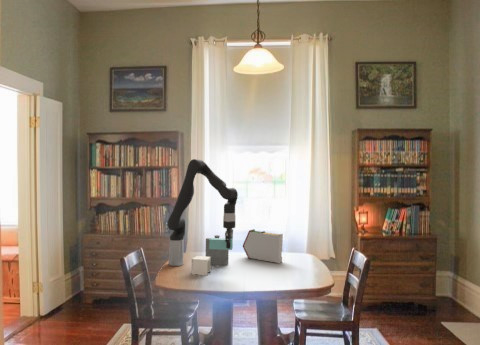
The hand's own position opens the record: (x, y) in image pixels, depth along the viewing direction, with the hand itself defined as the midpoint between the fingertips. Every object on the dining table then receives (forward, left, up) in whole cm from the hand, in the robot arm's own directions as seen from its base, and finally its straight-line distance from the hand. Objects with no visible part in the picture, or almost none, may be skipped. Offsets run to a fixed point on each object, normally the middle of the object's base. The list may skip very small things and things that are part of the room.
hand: (229, 247), depth 218 cm
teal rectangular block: (-5, 0, -1) cm, 5 cm away
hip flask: (-13, +22, -17) cm, 31 cm away
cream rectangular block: (-18, 0, -17) cm, 25 cm away
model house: (+17, +42, -17) cm, 48 cm away
